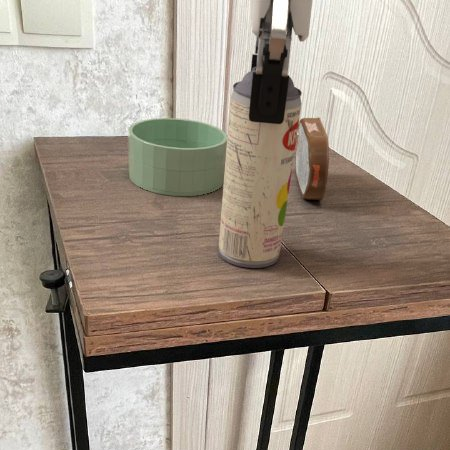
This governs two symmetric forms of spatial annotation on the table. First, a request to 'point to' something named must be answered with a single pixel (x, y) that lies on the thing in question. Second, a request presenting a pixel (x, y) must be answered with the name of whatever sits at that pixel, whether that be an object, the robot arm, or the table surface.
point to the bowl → (176, 156)
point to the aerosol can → (256, 179)
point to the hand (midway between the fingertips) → (264, 109)
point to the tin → (312, 158)
